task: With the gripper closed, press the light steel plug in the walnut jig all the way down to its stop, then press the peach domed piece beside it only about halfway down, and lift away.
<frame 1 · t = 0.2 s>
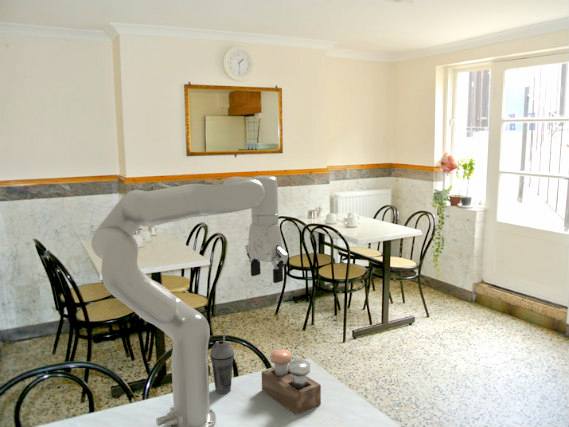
hand: (266, 278, 142), 36 cm above the table, tool pointing down, fingers open, 9 cm apart
peach domed piece: (281, 365, 149), point 8 cm above the table, slide at 0.0 cm
steel plug: (299, 376, 141), point 8 cm above the table, slide at 0.0 cm
beverage cup: (223, 391, 151), on the table
walnut jig: (290, 397, 146), on the table
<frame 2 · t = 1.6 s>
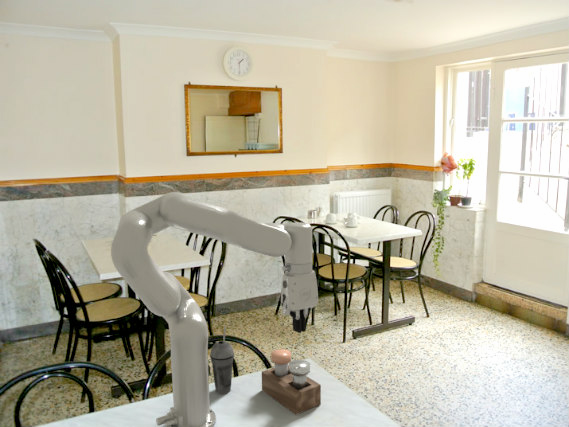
hand: (299, 330, 139), 22 cm above the table, tool pointing down, fingers closed
nothing on the table moved.
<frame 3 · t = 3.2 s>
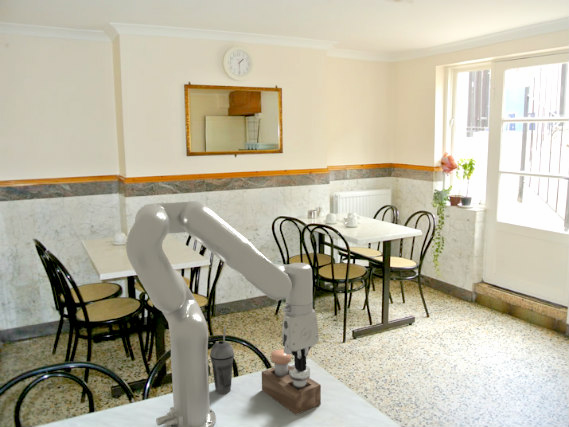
hand: (300, 368, 141), 11 cm above the table, tool pointing down, fingers closed
steel plug: (299, 381, 142), point 7 cm above the table, slide at 1.5 cm, touching gripper
everything else where it was.
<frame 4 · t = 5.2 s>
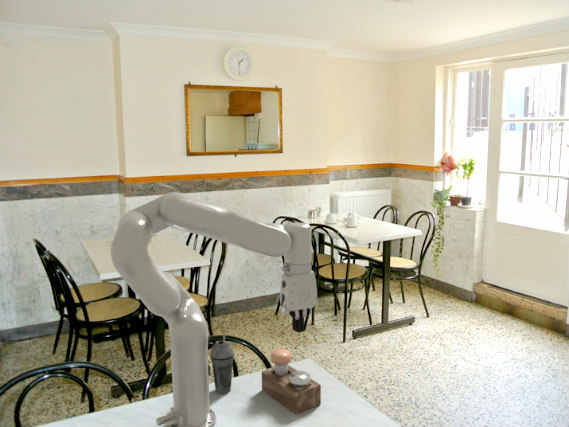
hand: (298, 330, 140), 22 cm above the table, tool pointing down, fingers closed
steel plug: (299, 388, 142), point 5 cm above the table, slide at 3.5 cm
everything else where it was.
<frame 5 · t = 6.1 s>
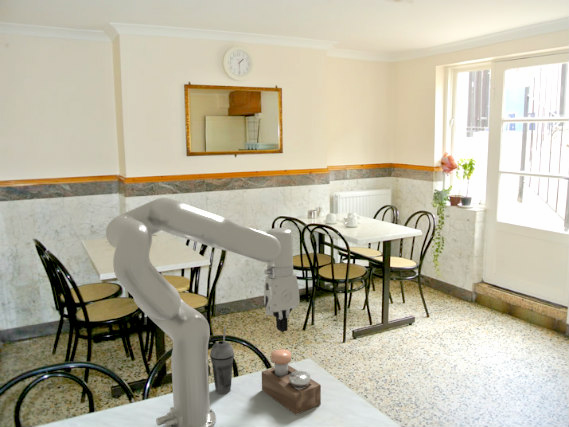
hand: (282, 330, 147), 19 cm above the table, tool pointing down, fingers closed
nothing on the table moved.
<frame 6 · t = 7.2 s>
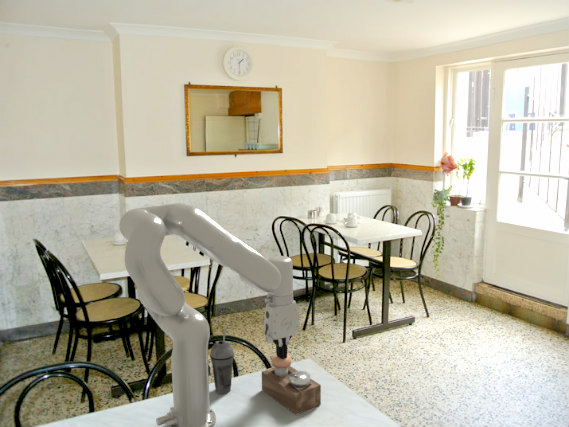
hand: (281, 356, 148), 11 cm above the table, tool pointing down, fingers closed
peach domed piece: (281, 369, 149), point 7 cm above the table, slide at 1.2 cm, touching gripper
everything else where it was.
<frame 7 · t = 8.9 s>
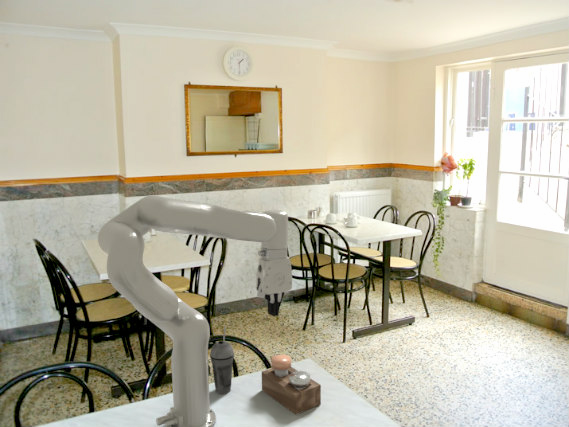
hand: (273, 314, 145), 25 cm above the table, tool pointing down, fingers closed
peach domed piece: (281, 370, 149), point 6 cm above the table, slide at 1.8 cm
everything else where it was.
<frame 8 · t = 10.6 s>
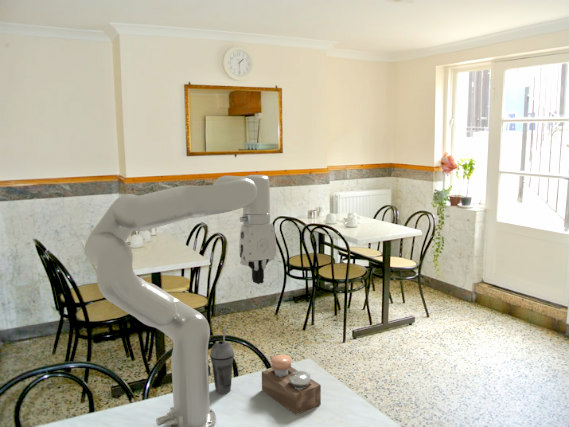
hand: (258, 282, 141), 35 cm above the table, tool pointing down, fingers closed
nothing on the table moved.
at the end: steel plug slide at 3.5 cm; peach domed piece slide at 1.8 cm; beverage cup moved 0.2 cm from its start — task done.
